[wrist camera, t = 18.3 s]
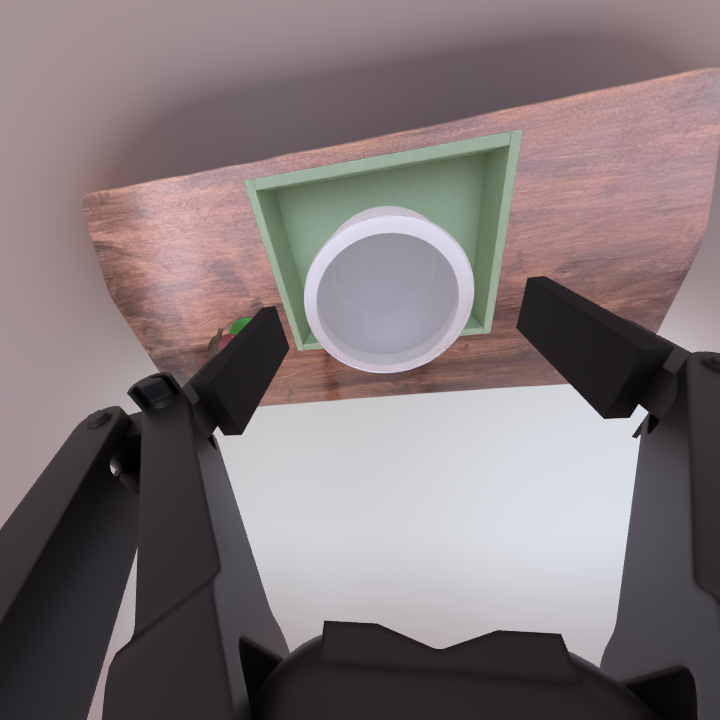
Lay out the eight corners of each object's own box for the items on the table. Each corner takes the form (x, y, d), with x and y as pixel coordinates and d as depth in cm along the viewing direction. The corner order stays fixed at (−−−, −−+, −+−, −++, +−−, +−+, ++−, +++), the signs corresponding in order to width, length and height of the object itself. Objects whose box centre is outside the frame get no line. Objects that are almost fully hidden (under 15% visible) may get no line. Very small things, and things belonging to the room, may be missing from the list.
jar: (417, 181, 24) (459, 174, 12) (440, 282, 29) (485, 350, 17) (319, 226, 27) (269, 259, 15) (355, 312, 32) (342, 390, 20)
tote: (309, 327, 35) (297, 350, 30) (268, 182, 26) (242, 180, 21) (473, 311, 32) (490, 333, 27) (492, 141, 23) (523, 128, 18)
